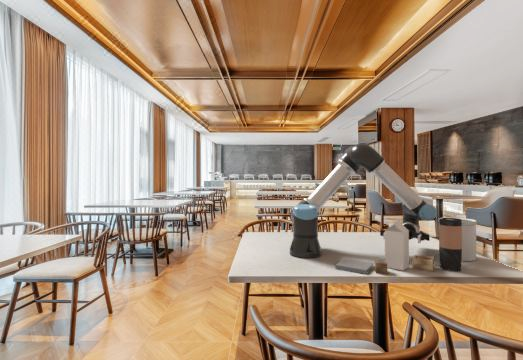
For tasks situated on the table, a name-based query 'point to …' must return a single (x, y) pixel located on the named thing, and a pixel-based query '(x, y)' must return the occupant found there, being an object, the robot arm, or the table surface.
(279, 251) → the table surface
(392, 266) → the milk carton
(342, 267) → the slate board
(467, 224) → the utensil holder
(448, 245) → the travel mug
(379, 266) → the walnut block
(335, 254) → the table surface
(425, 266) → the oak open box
